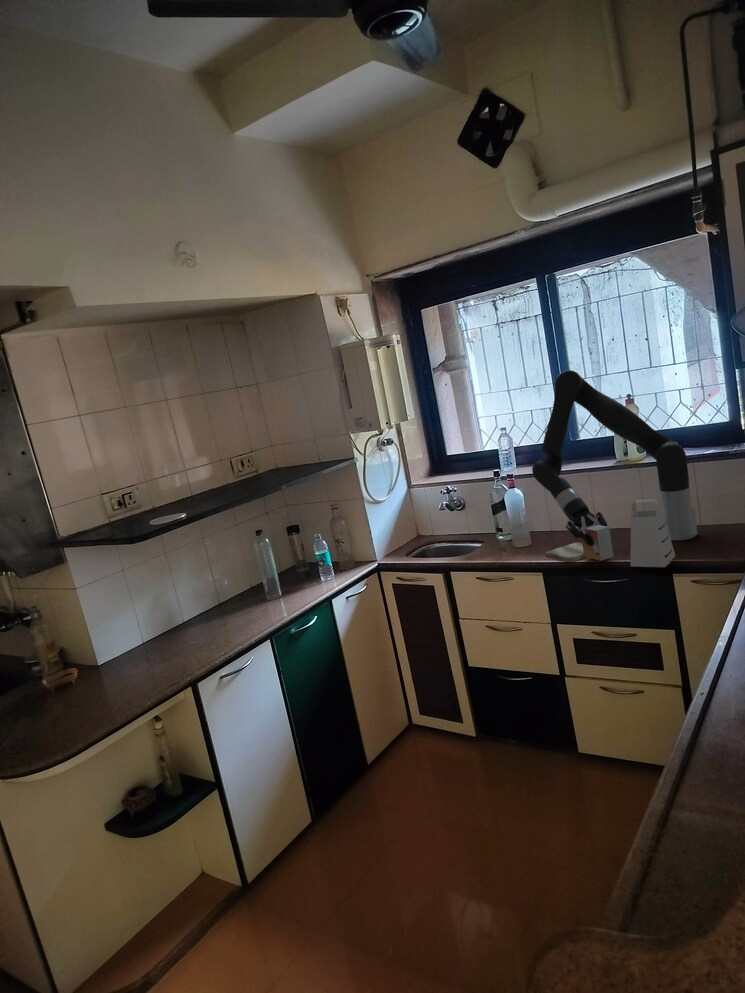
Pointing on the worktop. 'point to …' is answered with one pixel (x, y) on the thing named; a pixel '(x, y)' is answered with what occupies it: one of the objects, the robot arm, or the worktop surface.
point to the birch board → (568, 552)
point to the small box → (598, 543)
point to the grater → (650, 537)
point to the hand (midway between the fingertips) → (599, 542)
